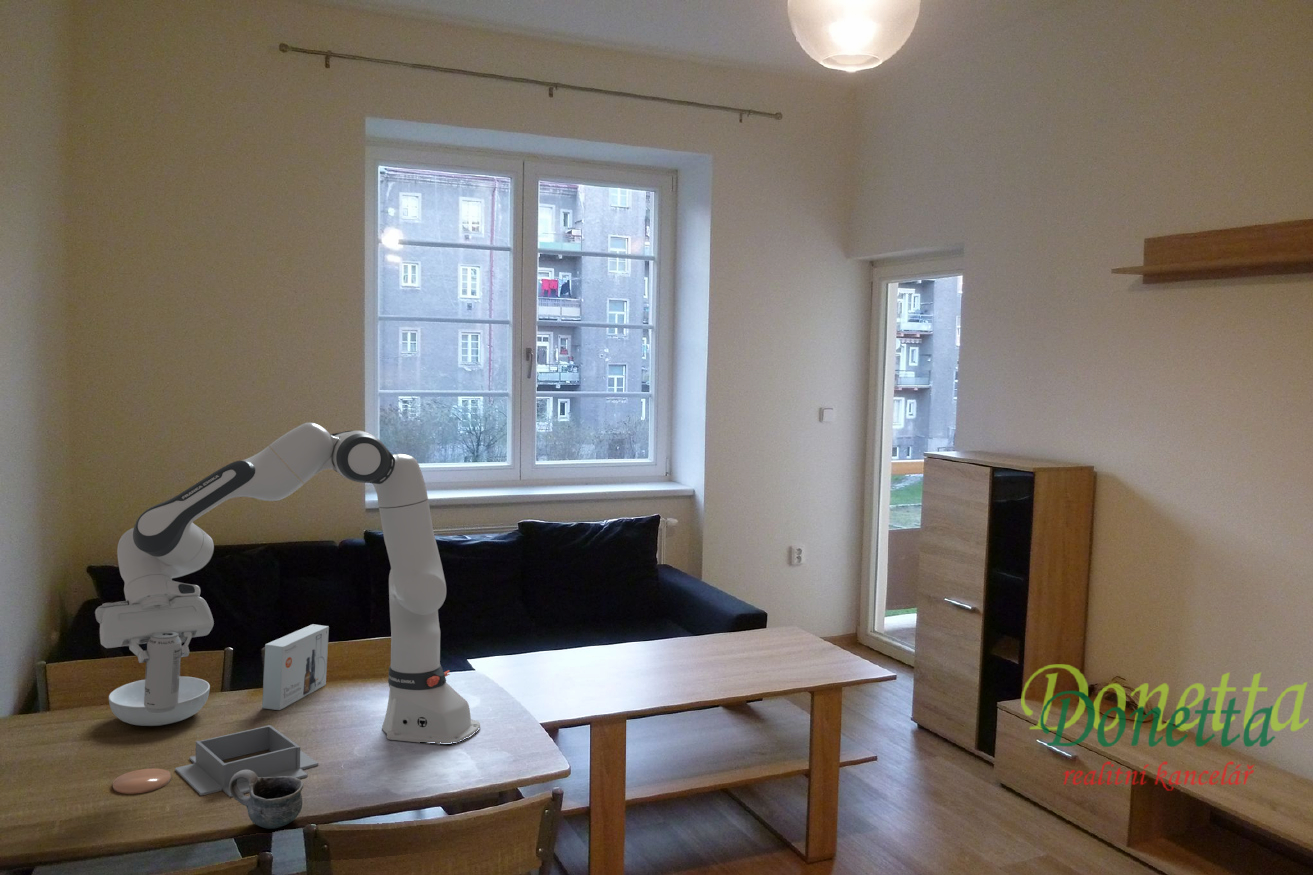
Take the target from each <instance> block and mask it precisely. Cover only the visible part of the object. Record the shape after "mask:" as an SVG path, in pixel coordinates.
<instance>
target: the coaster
mask: <svg viewBox="0 0 1313 875" xmlns="http://www.w3.org/2000/svg"><path fill="white" fill-rule="evenodd" d="M171 778H172V776H171V772H170V771H169V770H166V769H163V768H153V767H152V768H150V767H149V768H141V769H136V770H132V771H128V772H126V773H123V774H121V775H119V776H117V777H116V778H115V779H114V780H113V782H112V789H113V790H114V791H115V792H117V793H119V794H128V795H134V794H136V795H137V794H144V793H148V792H152V791H155V790H158V789H161V788H163V787H165V786H167V785H168V784H169V783H170V781H171Z"/></svg>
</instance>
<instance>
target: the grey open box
mask: <svg viewBox="0 0 1313 875" xmlns="http://www.w3.org/2000/svg"><path fill="white" fill-rule="evenodd" d="M266 750H268V751H269V752H266V753H262V754H258V755H253V756H250V757H246V758H241V759H238V760H232V761H229V762H224V761H225V760H229V759H233V758H237V757H241V756H245V755H250V754H254V753H259V752H262V751H266ZM188 759H189V760H190V761H191V762H192V763H191V764H186V765H182V766H177V767H175V768H174V771H175V772H176V773H177V774H178V775H179V776H180V777H181V778H182V779H184V781H185V782H186V783H188V785H189V786H190V787H191V788H192V789H193V790H194V791H196V792H197V793H198V794H199V795H200V796H205V795H209V794H214V793H217V792H220V791H222V792H224V793H225V794H226V795H227V796H228V797H229V798H232V797H233V796H232V795H231V792H230V789H229V783H230V780H231V778H232V777H233V776H234V775H235V774H236V773H237V772H239V771H241V770H251V771H253V772H254V773H255V774H256V775H257V777H273V778H275V777H279V776H289V777H294V778H297V779H300V780H302V779H304V778H307V777H308V775H309V774H308V773H307V772H306V771H305V769H309V768H313V767H317V766H318V767H319V762H318V761H316V760H315V759H313V758H312V757H311V756H309V755H308V754H307V753H305V752H304V751H302V749H301V746H300V745H298V743H296V742H294V741H293V740H292V739H290V738H289V737H287V736H286V735H285V734H283V733H282V732H280V731H279V730H278V729H276V728H275V727H274V726H273V725H271V724H267V725H264V726H261V727H256V728H253V729H248V730H247V729H246V730H242V731H238V732H233V733H229V734H225V735H219V736H216V737H210V738H205V739H202V740H195V755H191V756H189V758H188ZM237 786H238V788H239V790H240V791H241V792H242V793H243V794H244V795H245V794H247V793H250V788H249V783H248V780H246V779H244V778H239V779H237ZM233 798H234V797H233Z"/></svg>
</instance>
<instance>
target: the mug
mask: <svg viewBox="0 0 1313 875" xmlns="http://www.w3.org/2000/svg"><path fill="white" fill-rule="evenodd" d="M239 778H244V779H246V780H248V783H249V788H250V792H249V796H248V795H245V793H244V794H243V793H242V792H241V791H240V790H239V788H238V786H237V779H239ZM304 786H305V784H304V781H303V780H302V779H297V778H294V777H289V776H279V777H275V778H273V777H257V775H256V774H255V773H254V772H253V771H251V770H241V771H239V772H237V773H236V774H235V775H234V776H233V777H232V778H231V780H230V783H229V789H230V792H231V795H232V796H233V798H234V799H235V800H236V801H237V802H238V803H240V804H241V805H243V806H245V807H246V809H247V815H248V817H249V820H250V821H251V822H252V823H253V824H254V825H256V826H258V827H260V828H263V829H267V830H274V829H279V828H281V827H284V826H287V825H288V824H290V823H292V822H293V821H294V820H295V819H296V818H297V817H298V816H299V814H300V812H301V810H302V808H303V795H302V790H303V789H304Z"/></svg>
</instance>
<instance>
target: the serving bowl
mask: <svg viewBox="0 0 1313 875" xmlns="http://www.w3.org/2000/svg"><path fill="white" fill-rule="evenodd" d="M210 689H211V685H210V683H209V682H208V681H206V680H205V679H202V678H198V677H194V676H193V677H192V676H183V675H182V676H181V675H180V680H179V698H178V704H177V705H176V706H175V708H174V709H173V710H171V711H168V712H163V713H153V712H149V711H147V708H146V707H145V706H144V694H145V679H141V680H140V679H139V680H136V681H133V682H129V683H126V684H123V685H121V686H119V687H117V688H115V689H114V690H113V691H111V692H110V693H109V695H108V703H109V708H110V710H111V712H112V714H113V715H114V716H115V717H116V718H117V719H119V720H120V721H122V722H124V723H127V724H130V725H135V726H141V727H143V726H144V727H155V726H156V727H158V726H164V725H165V726H166V725H170V724H174V723H178V722H181V721H183V720H186V719H188V718H190V717H192V716H193V715H194V716H195V714H197V713H198V712H199V711H200V710H201V709H203V707H204V706H205V704H206V703H207V701H208V698H209V694H210Z"/></svg>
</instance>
